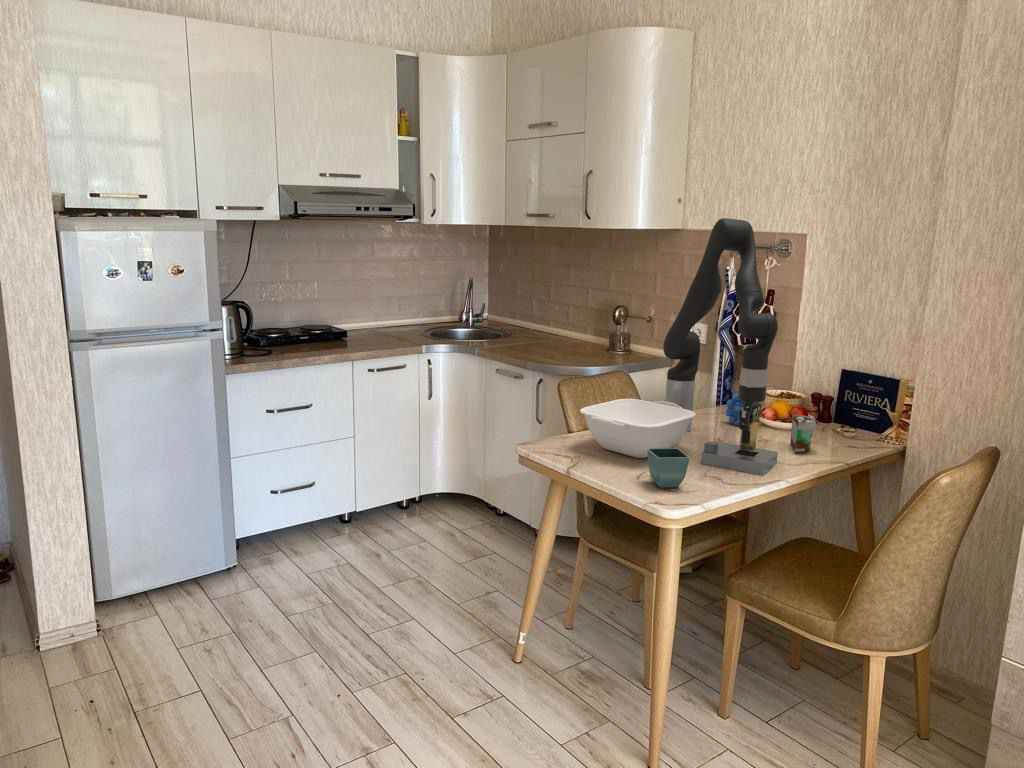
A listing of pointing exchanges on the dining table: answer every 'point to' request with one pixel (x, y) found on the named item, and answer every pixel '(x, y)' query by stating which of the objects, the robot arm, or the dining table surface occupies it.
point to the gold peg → (752, 438)
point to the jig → (738, 458)
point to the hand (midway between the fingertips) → (747, 441)
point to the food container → (801, 433)
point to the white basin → (636, 425)
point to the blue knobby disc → (734, 409)
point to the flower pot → (667, 466)
